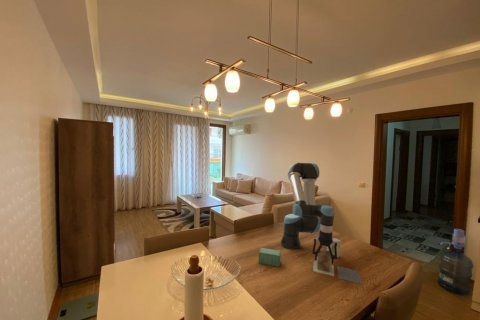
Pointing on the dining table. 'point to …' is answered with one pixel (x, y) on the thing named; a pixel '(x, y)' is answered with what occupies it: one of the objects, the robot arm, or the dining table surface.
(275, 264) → the box
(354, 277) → the mat
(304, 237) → the dining table surface
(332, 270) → the tile
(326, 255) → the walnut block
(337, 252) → the ink box
